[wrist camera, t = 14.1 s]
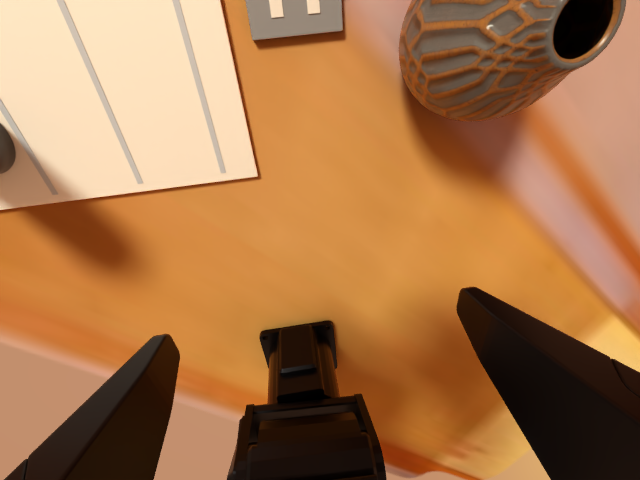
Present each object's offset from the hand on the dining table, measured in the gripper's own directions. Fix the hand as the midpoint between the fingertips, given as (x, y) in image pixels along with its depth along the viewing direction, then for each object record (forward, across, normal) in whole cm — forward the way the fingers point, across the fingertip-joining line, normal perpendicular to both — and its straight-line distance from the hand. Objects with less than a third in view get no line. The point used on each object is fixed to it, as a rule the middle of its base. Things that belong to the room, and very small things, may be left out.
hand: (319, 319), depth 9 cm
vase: (+12, -9, -7) cm, 17 cm away
